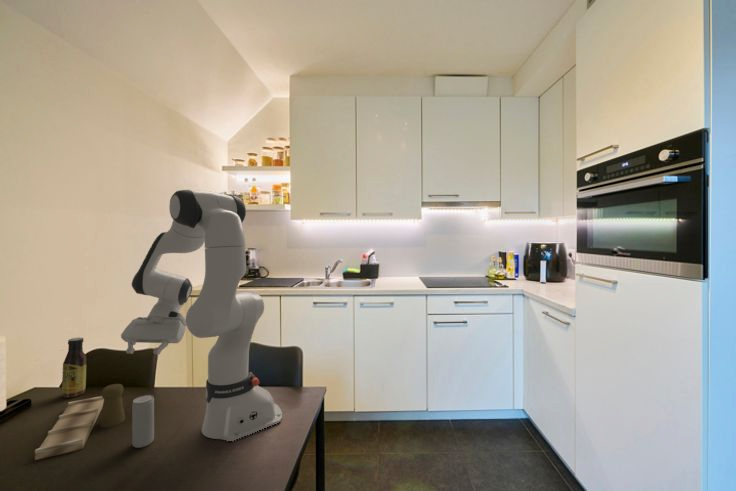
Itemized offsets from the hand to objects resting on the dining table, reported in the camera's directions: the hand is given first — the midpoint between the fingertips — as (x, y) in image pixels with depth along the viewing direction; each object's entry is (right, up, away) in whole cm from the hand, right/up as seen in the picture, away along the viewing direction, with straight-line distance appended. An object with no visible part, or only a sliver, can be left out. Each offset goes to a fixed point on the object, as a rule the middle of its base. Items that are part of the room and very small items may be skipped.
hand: (142, 353), depth 109 cm
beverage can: (+16, -17, -22) cm, 32 cm away
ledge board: (-9, -17, -15) cm, 24 cm away
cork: (0, -17, -12) cm, 21 cm away
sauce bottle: (-28, -16, +5) cm, 33 cm away
